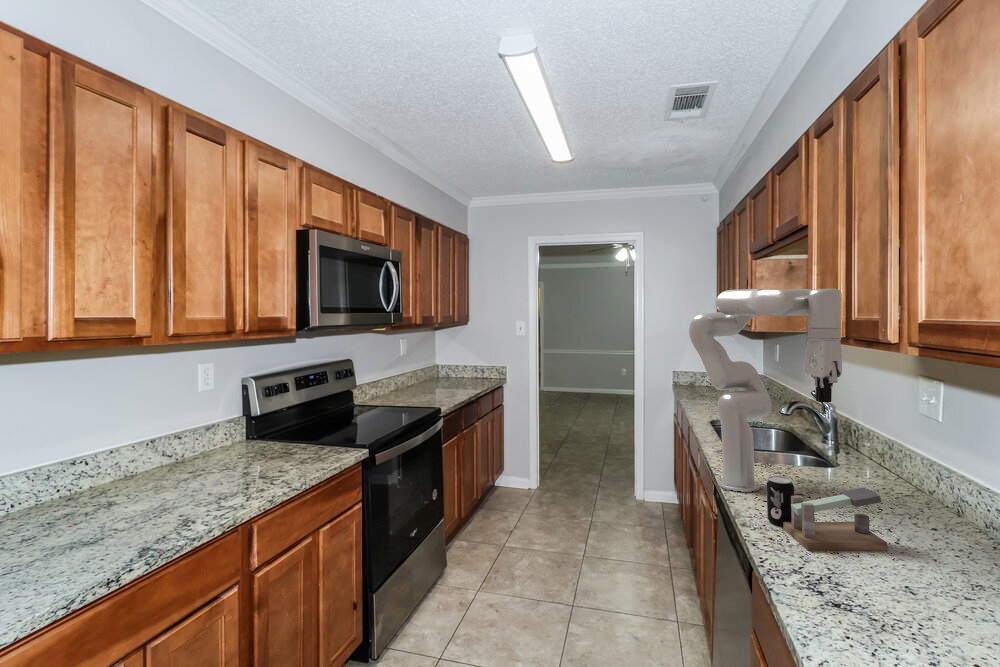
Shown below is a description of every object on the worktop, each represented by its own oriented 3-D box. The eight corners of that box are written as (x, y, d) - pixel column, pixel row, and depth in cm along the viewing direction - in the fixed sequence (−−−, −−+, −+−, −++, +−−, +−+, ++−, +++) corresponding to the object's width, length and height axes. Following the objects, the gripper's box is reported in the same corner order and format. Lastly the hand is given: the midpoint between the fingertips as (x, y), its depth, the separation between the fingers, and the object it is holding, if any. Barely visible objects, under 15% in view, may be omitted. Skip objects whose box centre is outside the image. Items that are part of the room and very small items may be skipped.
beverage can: (799, 528, 131) (797, 483, 130) (772, 527, 132) (770, 482, 132) (789, 518, 137) (788, 475, 137) (764, 517, 138) (763, 475, 138)
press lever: (789, 508, 127) (787, 502, 127) (865, 493, 125) (863, 487, 125) (801, 517, 121) (799, 511, 121) (881, 502, 119) (879, 495, 119)
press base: (783, 529, 130) (782, 492, 130) (855, 529, 128) (854, 491, 128) (807, 550, 118) (806, 509, 118) (887, 550, 116) (886, 509, 116)
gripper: (795, 333, 140) (795, 396, 141) (825, 336, 125) (824, 407, 126) (823, 332, 139) (822, 396, 141) (856, 336, 125) (855, 407, 126)
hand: (823, 401), depth 134 cm, fingers closed
